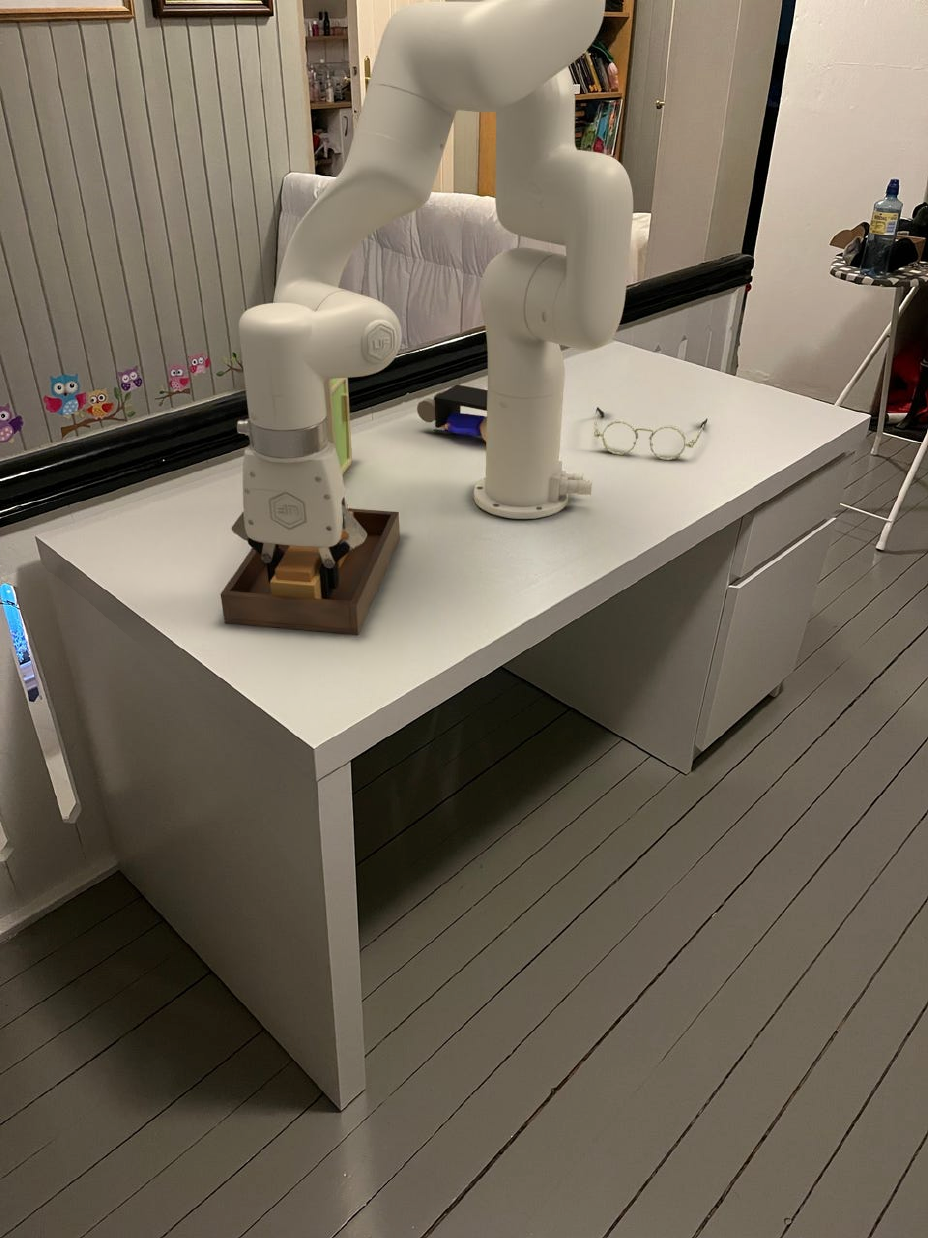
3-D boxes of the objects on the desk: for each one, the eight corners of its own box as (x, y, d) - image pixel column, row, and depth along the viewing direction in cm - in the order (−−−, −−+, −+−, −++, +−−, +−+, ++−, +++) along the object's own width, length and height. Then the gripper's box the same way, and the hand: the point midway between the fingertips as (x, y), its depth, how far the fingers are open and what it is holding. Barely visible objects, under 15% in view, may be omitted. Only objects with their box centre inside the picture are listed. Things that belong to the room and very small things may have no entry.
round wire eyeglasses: (583, 450, 140) (585, 418, 137) (599, 414, 152) (601, 384, 149) (700, 464, 136) (705, 431, 133) (706, 425, 148) (711, 395, 145)
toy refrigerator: (341, 486, 129) (330, 332, 117) (290, 481, 130) (274, 328, 118) (358, 463, 135) (349, 315, 124) (309, 458, 136) (296, 311, 125)
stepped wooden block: (335, 579, 107) (332, 541, 104) (316, 615, 101) (313, 575, 98) (294, 576, 107) (290, 537, 105) (273, 611, 101) (268, 571, 99)
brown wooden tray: (399, 537, 117) (399, 511, 115) (358, 634, 99) (356, 605, 97) (285, 528, 118) (283, 503, 116) (224, 622, 100) (220, 594, 98)
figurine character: (417, 442, 145) (500, 454, 138) (411, 394, 142) (496, 403, 134) (442, 428, 150) (523, 439, 142) (437, 381, 146) (520, 389, 138)
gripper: (193, 443, 92) (218, 602, 102) (364, 455, 90) (372, 616, 100) (221, 415, 98) (242, 568, 108) (381, 426, 96) (387, 580, 106)
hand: (304, 589), depth 104 cm, fingers closed on stepped wooden block, 4 cm apart
